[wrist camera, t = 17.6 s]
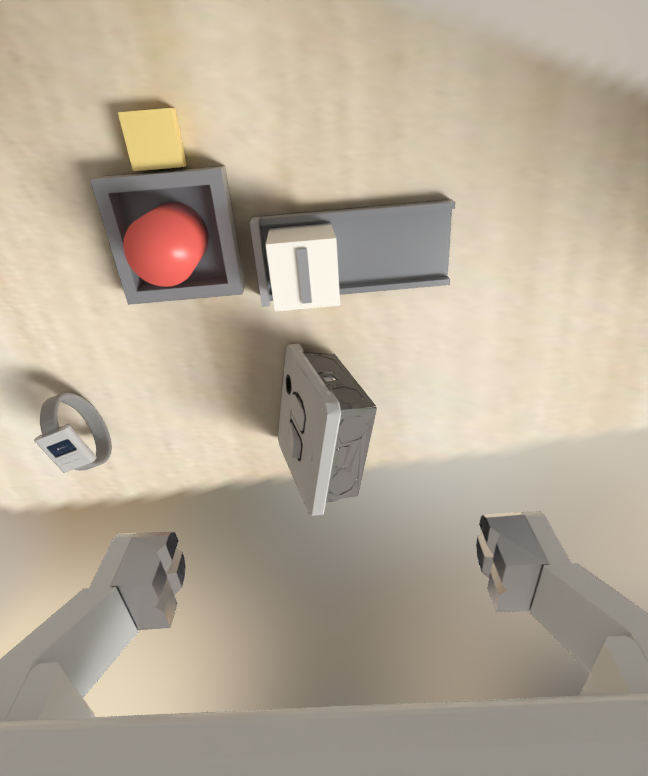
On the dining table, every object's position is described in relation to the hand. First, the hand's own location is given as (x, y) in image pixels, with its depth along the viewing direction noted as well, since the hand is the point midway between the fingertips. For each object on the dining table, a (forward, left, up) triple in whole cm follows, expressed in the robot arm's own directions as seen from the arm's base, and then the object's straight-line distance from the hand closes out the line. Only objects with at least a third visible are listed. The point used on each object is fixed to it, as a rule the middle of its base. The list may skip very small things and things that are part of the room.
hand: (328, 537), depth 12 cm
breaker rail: (-3, -2, -23) cm, 23 cm away
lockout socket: (+8, -5, -23) cm, 25 cm away
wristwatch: (+18, +9, -23) cm, 31 cm away
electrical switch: (0, +9, -23) cm, 25 cm away
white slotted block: (0, -2, -23) cm, 23 cm away
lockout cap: (+8, -4, -23) cm, 24 cm away
